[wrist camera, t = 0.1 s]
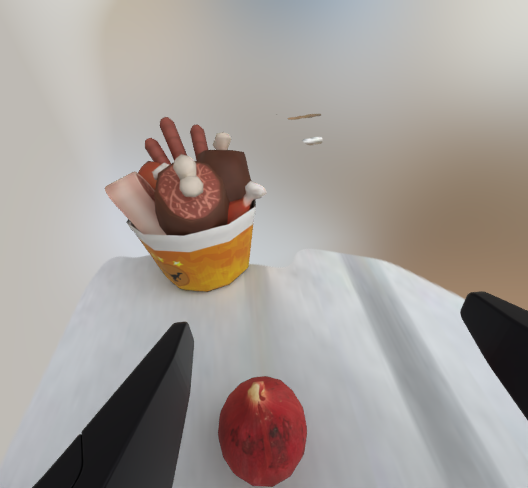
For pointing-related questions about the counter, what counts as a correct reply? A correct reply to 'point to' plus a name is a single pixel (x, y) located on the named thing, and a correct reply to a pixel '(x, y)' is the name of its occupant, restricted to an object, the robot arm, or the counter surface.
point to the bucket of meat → (192, 209)
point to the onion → (262, 431)
